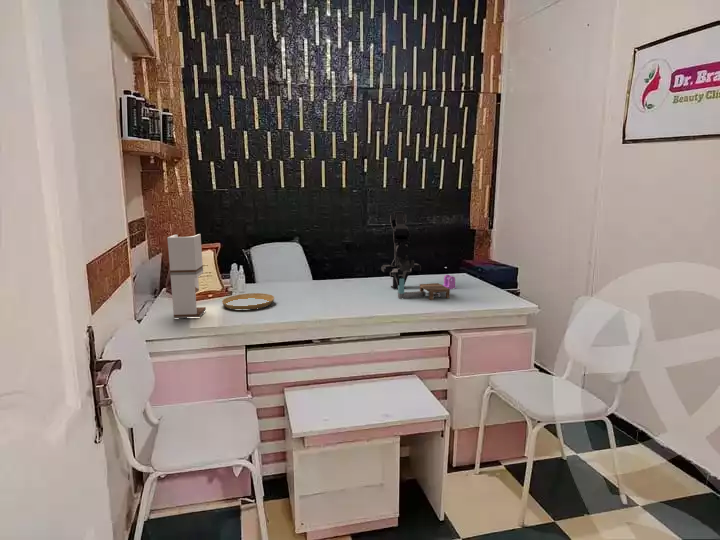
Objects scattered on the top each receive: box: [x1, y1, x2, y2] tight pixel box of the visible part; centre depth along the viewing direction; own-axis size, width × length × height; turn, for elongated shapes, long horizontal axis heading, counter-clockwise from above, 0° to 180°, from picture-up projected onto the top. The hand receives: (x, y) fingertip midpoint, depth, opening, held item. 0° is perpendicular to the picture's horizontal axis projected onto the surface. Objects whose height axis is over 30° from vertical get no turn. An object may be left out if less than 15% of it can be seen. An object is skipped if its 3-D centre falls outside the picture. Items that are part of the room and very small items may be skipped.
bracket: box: [442, 274, 456, 290], centre depth 259 cm, size 13×6×7 cm, turn 111°
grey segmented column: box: [166, 233, 206, 319], centre depth 209 cm, size 11×11×35 cm
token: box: [433, 292, 441, 298], centre depth 244 cm, size 5×5×1 cm
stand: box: [419, 282, 451, 301], centre depth 243 cm, size 15×10×5 cm, turn 13°
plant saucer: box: [221, 292, 275, 310], centre depth 229 cm, size 24×24×3 cm
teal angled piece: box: [397, 278, 427, 300], centre depth 240 cm, size 2×14×10 cm, turn 103°
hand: (401, 285), depth 239 cm, fingers closed on teal angled piece, 2 cm apart
